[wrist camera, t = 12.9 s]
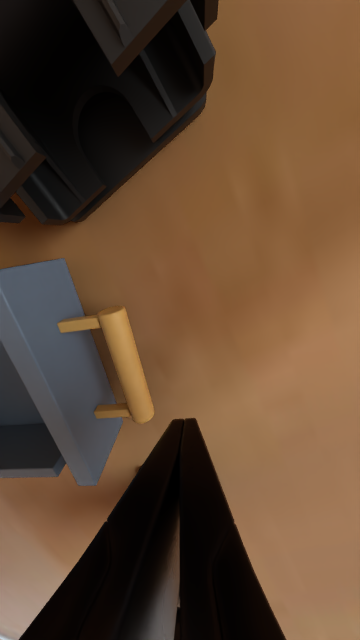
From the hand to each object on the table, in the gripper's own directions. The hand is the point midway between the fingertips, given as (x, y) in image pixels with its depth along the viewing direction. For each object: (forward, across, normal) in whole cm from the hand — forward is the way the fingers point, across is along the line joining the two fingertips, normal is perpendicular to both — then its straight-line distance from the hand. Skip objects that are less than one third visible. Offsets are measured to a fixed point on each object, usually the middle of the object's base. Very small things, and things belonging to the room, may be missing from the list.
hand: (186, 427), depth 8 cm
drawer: (+7, +11, 0) cm, 13 cm away
